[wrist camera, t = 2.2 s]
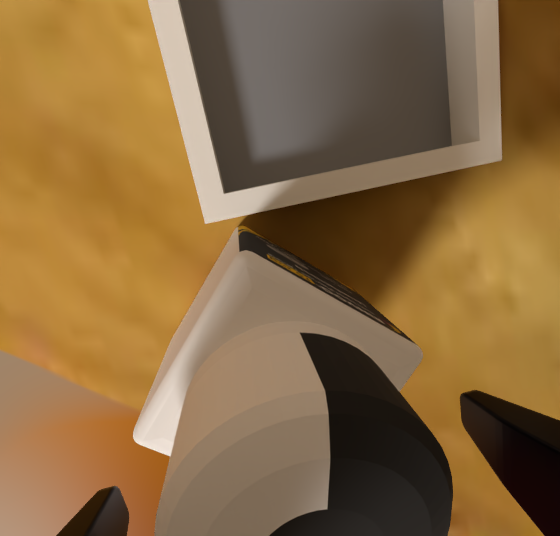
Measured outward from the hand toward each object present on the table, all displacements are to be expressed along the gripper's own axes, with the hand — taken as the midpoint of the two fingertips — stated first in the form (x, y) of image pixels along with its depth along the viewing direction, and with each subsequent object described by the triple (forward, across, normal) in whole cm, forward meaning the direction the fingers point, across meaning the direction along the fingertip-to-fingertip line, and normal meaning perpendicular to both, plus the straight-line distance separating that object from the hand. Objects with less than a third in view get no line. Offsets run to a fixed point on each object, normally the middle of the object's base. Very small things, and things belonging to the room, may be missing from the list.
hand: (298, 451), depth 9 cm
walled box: (+9, -5, -12) cm, 16 cm away
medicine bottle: (+10, 0, 0) cm, 10 cm away
